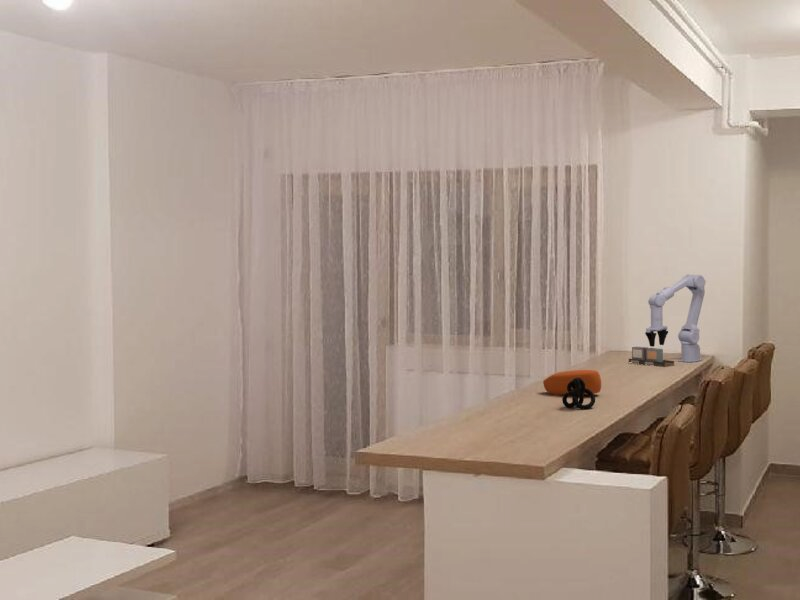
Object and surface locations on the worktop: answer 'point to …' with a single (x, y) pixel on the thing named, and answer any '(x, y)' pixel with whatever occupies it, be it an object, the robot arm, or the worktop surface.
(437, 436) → the worktop surface
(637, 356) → the box
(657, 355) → the box
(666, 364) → the shelf ledge
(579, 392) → the squiggle
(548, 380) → the orange rounded block
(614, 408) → the worktop surface
